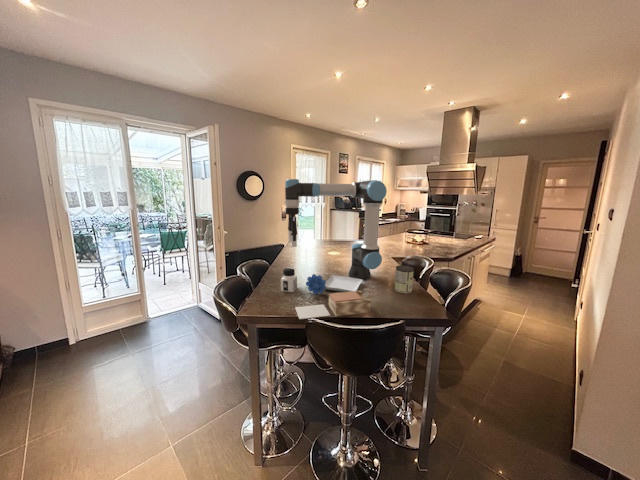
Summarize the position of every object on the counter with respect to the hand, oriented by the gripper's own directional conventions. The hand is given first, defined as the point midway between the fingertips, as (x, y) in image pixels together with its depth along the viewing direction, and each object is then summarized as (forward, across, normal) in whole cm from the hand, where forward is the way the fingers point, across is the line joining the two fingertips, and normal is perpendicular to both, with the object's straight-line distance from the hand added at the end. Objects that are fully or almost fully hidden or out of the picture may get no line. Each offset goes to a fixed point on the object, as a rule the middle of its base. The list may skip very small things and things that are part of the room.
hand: (292, 244), depth 151 cm
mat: (+28, +30, +5) cm, 42 cm away
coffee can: (+28, +14, +65) cm, 72 cm away
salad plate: (+28, +2, +31) cm, 42 cm away
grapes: (+28, +10, +12) cm, 32 cm away
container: (+28, -1, -2) cm, 28 cm away
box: (+28, +31, +24) cm, 48 cm away
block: (+23, +31, +22) cm, 45 cm away
